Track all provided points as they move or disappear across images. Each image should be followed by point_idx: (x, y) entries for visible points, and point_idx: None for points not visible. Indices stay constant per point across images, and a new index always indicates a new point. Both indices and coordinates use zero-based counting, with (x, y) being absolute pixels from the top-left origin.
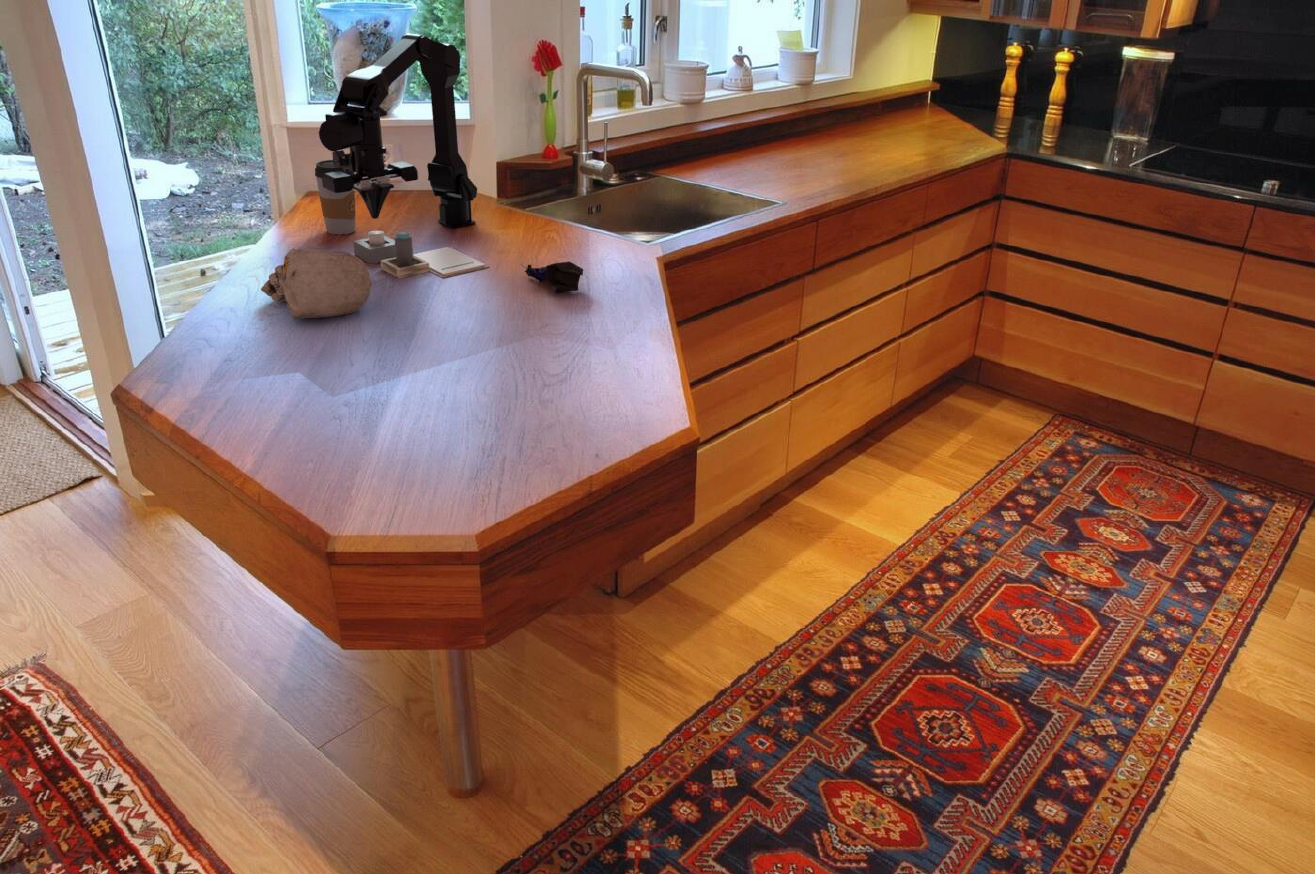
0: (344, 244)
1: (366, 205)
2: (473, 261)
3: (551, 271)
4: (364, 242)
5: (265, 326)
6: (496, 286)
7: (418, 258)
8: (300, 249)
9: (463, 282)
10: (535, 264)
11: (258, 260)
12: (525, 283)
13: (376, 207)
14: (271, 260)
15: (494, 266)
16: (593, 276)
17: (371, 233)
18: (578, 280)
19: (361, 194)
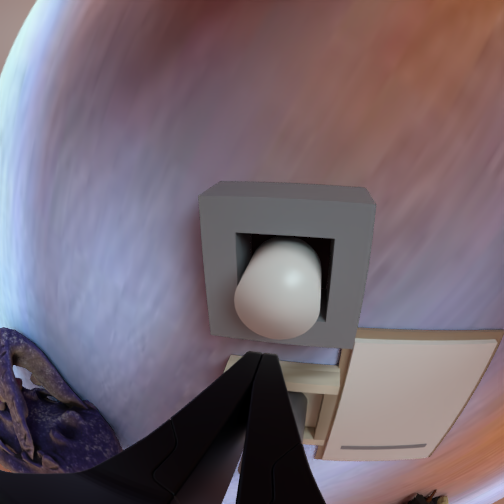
0: (249, 29)
1: (187, 410)
2: (429, 443)
3: None
4: (231, 248)
5: (22, 380)
6: (354, 495)
7: (327, 418)
8: (9, 469)
9: (329, 475)
10: (482, 462)
11: (4, 88)
12: (393, 499)
13: (237, 463)
14: (19, 100)
15: (440, 453)
16: (465, 499)
17: (251, 299)
18: None
19: (107, 477)
